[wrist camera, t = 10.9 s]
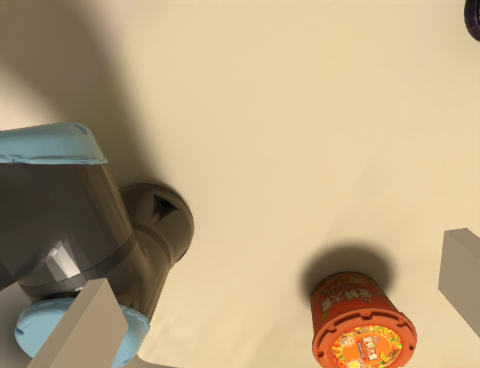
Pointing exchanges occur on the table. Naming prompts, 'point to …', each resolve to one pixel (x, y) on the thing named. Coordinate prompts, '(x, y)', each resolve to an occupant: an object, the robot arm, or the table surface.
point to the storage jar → (473, 18)
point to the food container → (358, 325)
